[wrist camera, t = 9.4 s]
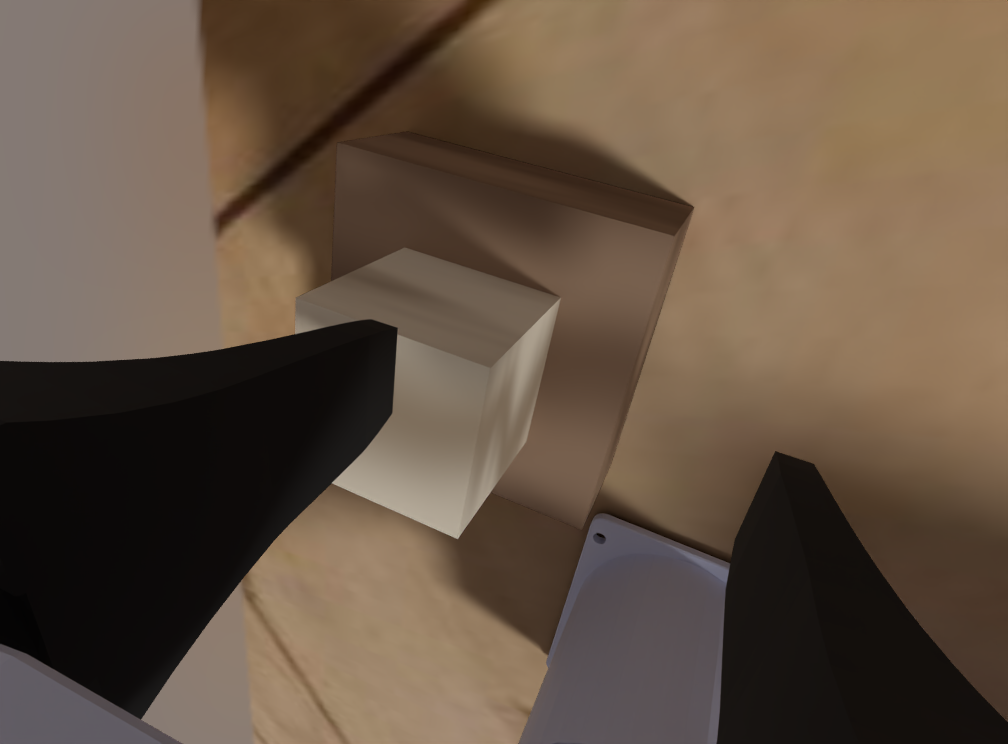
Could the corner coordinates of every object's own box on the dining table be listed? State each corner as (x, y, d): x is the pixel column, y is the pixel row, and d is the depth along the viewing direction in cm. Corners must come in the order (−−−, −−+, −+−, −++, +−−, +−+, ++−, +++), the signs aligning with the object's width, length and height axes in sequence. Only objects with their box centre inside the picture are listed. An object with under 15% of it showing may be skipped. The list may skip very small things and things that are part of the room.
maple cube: (526, 441, 20) (457, 539, 16) (390, 388, 21) (292, 466, 17) (561, 297, 18) (490, 367, 13) (405, 247, 19) (295, 297, 15)
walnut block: (610, 466, 24) (581, 530, 21) (383, 379, 26) (325, 424, 23) (694, 207, 19) (674, 235, 16) (406, 131, 22) (337, 142, 18)
